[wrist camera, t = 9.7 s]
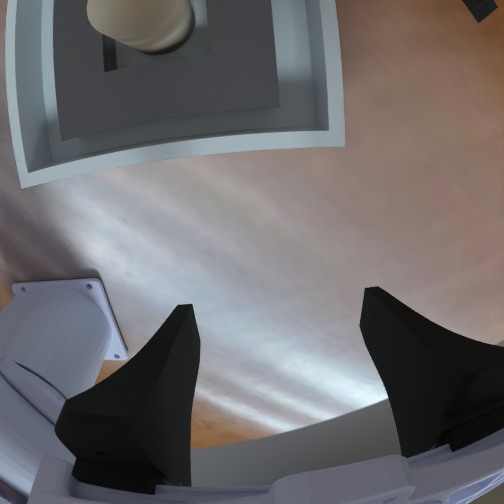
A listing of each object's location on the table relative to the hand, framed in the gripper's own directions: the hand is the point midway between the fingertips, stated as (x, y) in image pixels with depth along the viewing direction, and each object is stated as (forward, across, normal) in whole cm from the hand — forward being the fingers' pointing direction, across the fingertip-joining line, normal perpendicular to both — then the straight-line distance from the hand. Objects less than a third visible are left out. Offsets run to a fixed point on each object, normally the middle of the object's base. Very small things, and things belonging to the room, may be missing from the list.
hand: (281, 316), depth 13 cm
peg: (+8, +5, -14) cm, 17 cm away
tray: (+8, +5, -14) cm, 17 cm away
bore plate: (+8, +5, -14) cm, 17 cm away
